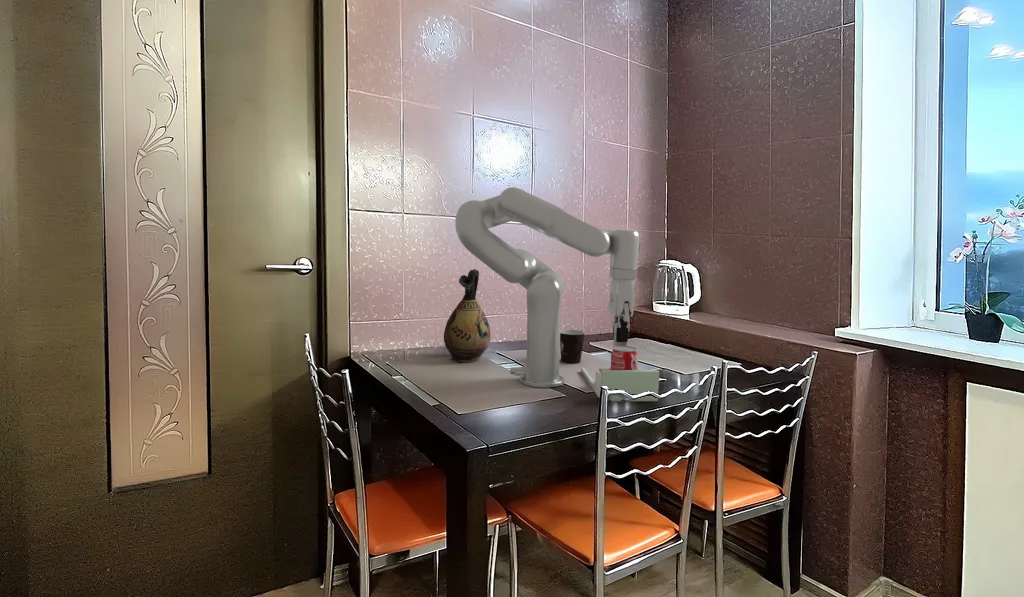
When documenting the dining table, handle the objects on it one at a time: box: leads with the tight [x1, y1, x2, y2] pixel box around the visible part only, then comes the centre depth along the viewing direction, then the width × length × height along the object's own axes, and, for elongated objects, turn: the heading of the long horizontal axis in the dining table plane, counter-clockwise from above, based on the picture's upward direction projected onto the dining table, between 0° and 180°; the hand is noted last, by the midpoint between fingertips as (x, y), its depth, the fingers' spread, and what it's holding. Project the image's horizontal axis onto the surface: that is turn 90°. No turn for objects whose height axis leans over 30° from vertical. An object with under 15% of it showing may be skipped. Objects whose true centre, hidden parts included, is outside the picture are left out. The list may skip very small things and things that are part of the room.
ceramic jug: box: [443, 269, 492, 364], centre depth 188 cm, size 17×15×30 cm
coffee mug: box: [560, 329, 586, 365], centre depth 187 cm, size 12×9×10 cm
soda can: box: [610, 345, 639, 370], centre depth 152 cm, size 7×7×13 cm
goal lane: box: [580, 367, 660, 402], centre depth 162 cm, size 15×29×8 cm, turn 3°
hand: (620, 339), depth 159 cm, fingers closed on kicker, 3 cm apart
